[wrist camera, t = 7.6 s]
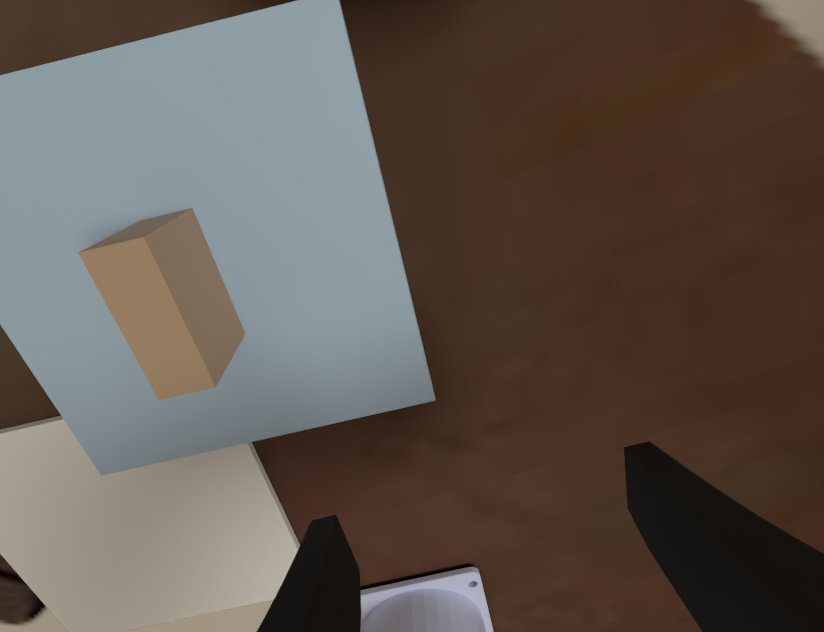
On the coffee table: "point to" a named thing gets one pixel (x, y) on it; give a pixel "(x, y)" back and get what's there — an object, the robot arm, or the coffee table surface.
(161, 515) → the mat
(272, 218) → the cover
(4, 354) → the coffee table surface
